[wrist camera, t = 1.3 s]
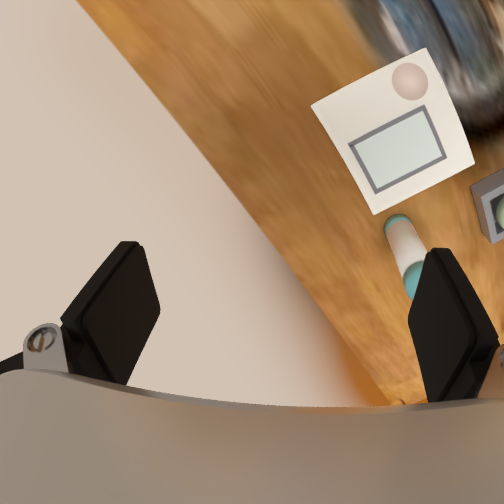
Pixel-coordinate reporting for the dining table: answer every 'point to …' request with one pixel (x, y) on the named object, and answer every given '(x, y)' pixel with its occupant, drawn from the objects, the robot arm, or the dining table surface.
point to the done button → (500, 213)
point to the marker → (406, 250)
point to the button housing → (489, 204)
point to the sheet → (396, 130)
